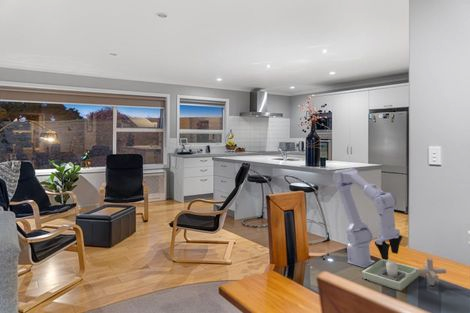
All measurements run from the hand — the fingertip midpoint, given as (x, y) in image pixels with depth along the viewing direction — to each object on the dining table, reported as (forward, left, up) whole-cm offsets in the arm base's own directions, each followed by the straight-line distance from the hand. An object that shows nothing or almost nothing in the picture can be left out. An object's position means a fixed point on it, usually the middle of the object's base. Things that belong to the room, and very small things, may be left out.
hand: (390, 256), depth 132 cm
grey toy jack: (+13, +5, -10) cm, 17 cm away
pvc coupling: (+1, 0, -9) cm, 9 cm away
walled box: (-1, +1, -9) cm, 9 cm away
